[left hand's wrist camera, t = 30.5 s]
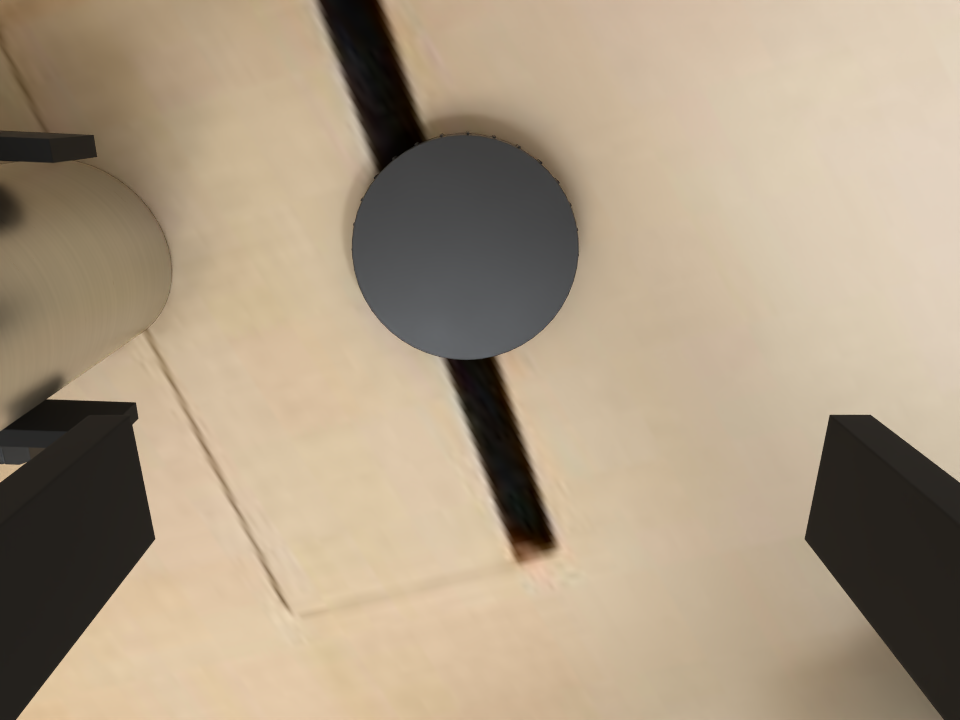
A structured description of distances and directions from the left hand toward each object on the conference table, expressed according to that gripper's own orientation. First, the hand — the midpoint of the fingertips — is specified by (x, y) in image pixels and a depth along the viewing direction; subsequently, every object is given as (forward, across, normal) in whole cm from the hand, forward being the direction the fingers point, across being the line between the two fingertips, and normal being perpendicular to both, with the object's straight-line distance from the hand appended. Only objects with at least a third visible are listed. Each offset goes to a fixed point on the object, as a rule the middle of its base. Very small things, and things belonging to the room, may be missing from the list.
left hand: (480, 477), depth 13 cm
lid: (+18, +1, -1) cm, 18 cm away
